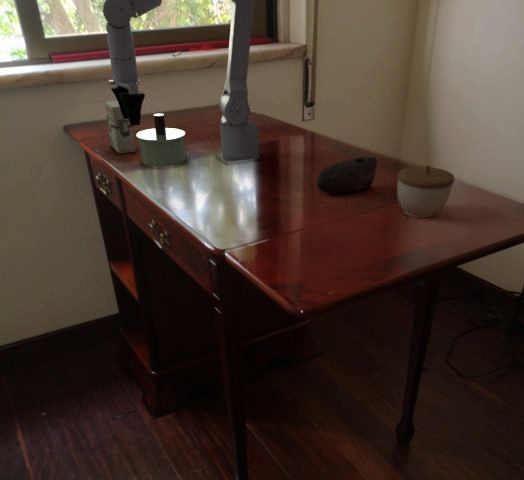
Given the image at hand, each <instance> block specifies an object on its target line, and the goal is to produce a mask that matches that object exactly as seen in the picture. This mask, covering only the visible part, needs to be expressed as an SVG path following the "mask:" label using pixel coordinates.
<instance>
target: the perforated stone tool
mask: <svg viewBox="0 0 524 480" xmlns="http://www.w3.org/2000/svg"><path fill="white" fill-rule="evenodd" d="M377 165H378V159H377V158H376V157H375V156H366V157H364V156H363V157H355V158H350V159H346V160H343V161H340V162H339V161H338V162H337V163H334V164H331V165H329V166H327V167H326V168H324V169H323V170H322V171H320V172H319V174H318V176H317V179H316V187H317V188H318V190H320V192H323V193H325V194H347V193H354V192H355V193H356V192H359V191H362V190H366V189H367V190H368V189H371V188H372V185H373V182H374V180H375V177H376V171H377V170H376V169H377Z"/></svg>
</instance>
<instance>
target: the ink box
mask: <svg viewBox="0 0 524 480" xmlns="http://www.w3.org/2000/svg"><path fill="white" fill-rule="evenodd" d="M104 105H105V106H104V107H105V114H106V121H107V128H108V134H109V140H110V146H111V148H113V150H115V151H116V153H118V154H126V153H134V152H136V144H135V137H134V129H133V126H131V124H130V122H129V119H124V118H123V116H122V113H121V110H120V107H119V104H118V101H117V100H109V101H104Z"/></svg>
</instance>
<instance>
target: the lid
mask: <svg viewBox="0 0 524 480" xmlns="http://www.w3.org/2000/svg"><path fill="white" fill-rule="evenodd" d="M165 118H166V117H165V114H164V113H154V114H153V122H154V128H148V129H144V130H140V131H138V132H137V133H136V135H135V137H136V139H137V140H138V139H139V140H142V141H146V142H170V141H175V140H179V139H182V138H184V137H186V131H184V130H182V129H179V128H174V127H173V128H171V127H166V119H165Z"/></svg>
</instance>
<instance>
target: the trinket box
mask: <svg viewBox="0 0 524 480" xmlns="http://www.w3.org/2000/svg"><path fill="white" fill-rule="evenodd" d="M454 181H455V176H454V175H453V173H451V172H449V171H448V170H444V169H443V168H438V167H432V166H431V165H427V164H426V165H424V166H422V165H421V166H408V167H405V168H402V169H400V170H399V171H398V173H397V182H396V183H397V185H396V197H397V201H398V204H399V205H400V206H401V208H402V209H403V210H404V211H403V212H404V213H405V215H408V216H410V217H413V218H418V219H419V218H423V219H425V218H431V217H433V216H435V214H437V213H438V212H439V211H440V210H442V208H444V206H446V204H447V202H448V199H449V197H450V195H451V191H452V188H453V184H454Z"/></svg>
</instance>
